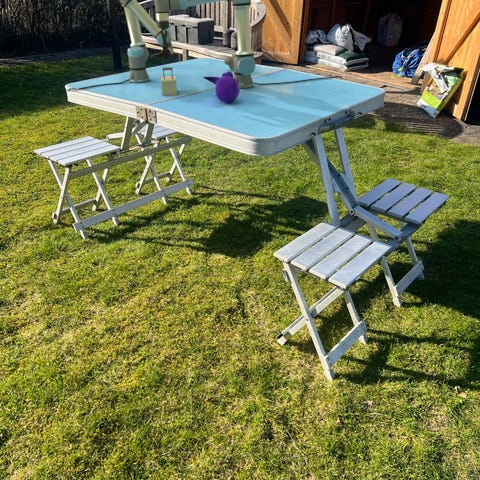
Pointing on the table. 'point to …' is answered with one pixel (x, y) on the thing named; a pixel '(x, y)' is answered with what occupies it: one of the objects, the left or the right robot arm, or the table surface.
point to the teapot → (230, 62)
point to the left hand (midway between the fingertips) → (162, 57)
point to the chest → (169, 88)
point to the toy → (225, 87)
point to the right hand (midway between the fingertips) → (166, 57)
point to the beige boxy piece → (168, 78)
